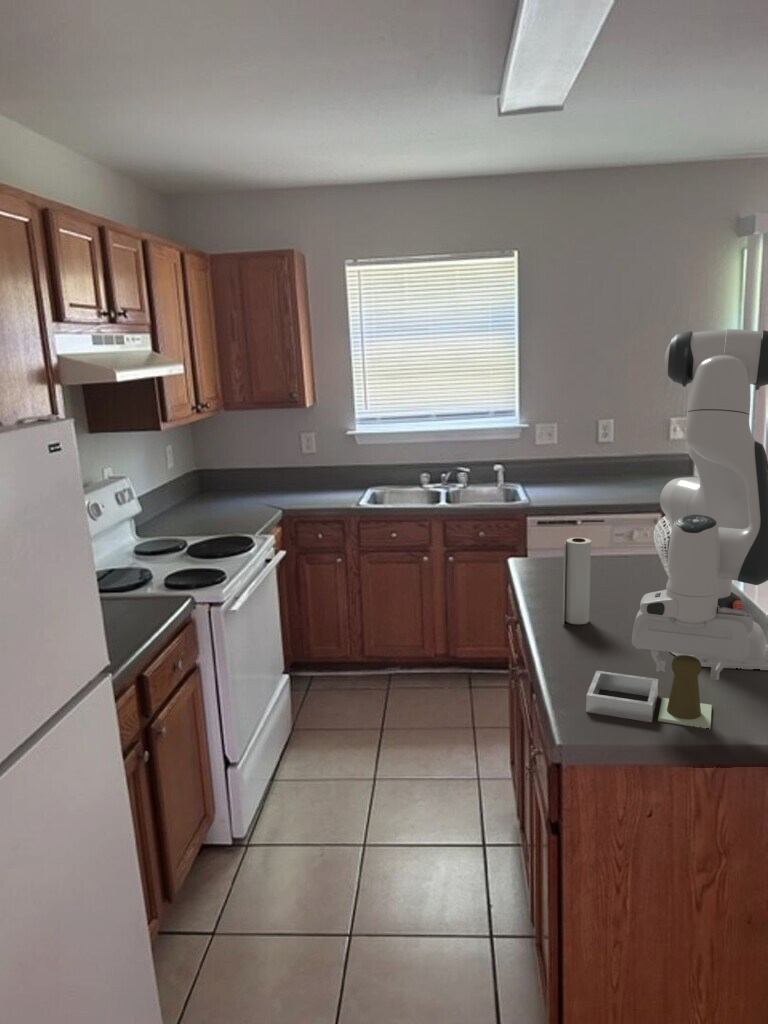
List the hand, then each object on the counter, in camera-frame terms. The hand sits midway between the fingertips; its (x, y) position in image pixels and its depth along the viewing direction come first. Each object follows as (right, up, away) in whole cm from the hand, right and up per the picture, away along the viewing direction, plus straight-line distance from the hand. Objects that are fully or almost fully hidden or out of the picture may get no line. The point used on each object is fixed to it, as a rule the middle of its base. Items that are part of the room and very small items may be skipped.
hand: (687, 674), depth 143 cm
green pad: (0, -8, +2) cm, 8 cm away
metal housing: (-10, -7, +7) cm, 14 cm away
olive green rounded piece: (0, -8, +1) cm, 8 cm away
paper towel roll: (-8, +2, +52) cm, 52 cm away
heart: (+26, +7, +68) cm, 73 cm away
